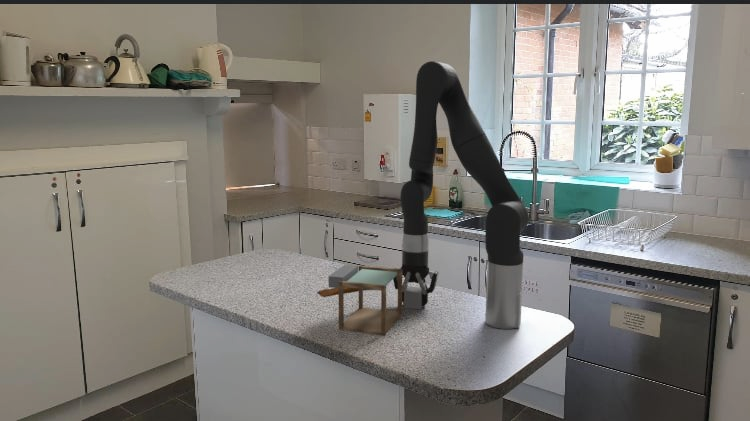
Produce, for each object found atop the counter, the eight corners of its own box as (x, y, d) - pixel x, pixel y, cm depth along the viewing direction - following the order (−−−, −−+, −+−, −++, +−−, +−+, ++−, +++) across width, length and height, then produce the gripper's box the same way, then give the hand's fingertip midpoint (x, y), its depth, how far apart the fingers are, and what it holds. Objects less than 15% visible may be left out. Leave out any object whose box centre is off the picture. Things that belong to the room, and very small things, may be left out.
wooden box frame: (401, 313, 163) (402, 269, 161) (384, 335, 148) (385, 286, 146) (359, 309, 167) (359, 265, 165) (338, 329, 152) (338, 281, 149)
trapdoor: (396, 278, 161) (396, 268, 160) (381, 294, 148) (381, 282, 147) (345, 274, 165) (345, 263, 165) (327, 288, 152) (327, 277, 152)
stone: (424, 304, 172) (424, 287, 171) (420, 309, 167) (421, 292, 166) (408, 302, 173) (408, 286, 172) (403, 307, 168) (404, 291, 168)
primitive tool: (322, 298, 178) (322, 287, 177) (316, 293, 183) (315, 282, 182) (378, 290, 187) (378, 279, 186) (370, 285, 191) (370, 275, 191)
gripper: (442, 247, 168) (440, 303, 171) (395, 243, 173) (394, 298, 176) (437, 253, 161) (435, 311, 164) (387, 249, 166) (387, 305, 169)
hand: (414, 304), depth 170 cm, fingers closed on stone, 5 cm apart
